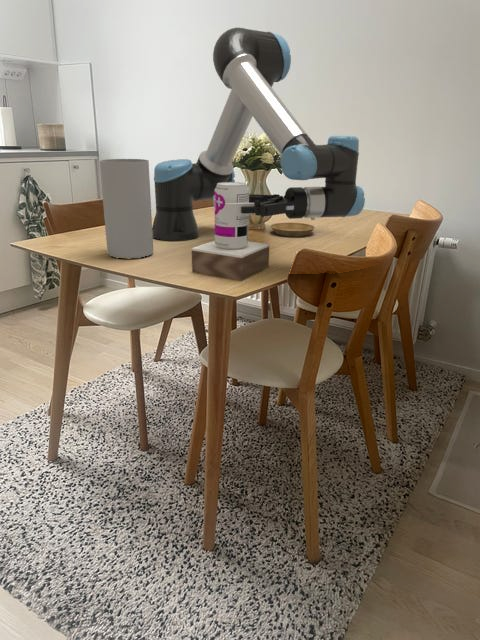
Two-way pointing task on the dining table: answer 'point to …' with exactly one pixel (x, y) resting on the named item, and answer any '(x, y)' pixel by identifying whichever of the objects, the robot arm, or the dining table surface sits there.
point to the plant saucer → (292, 229)
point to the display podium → (230, 260)
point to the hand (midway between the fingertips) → (219, 205)
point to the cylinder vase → (127, 207)
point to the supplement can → (230, 228)
